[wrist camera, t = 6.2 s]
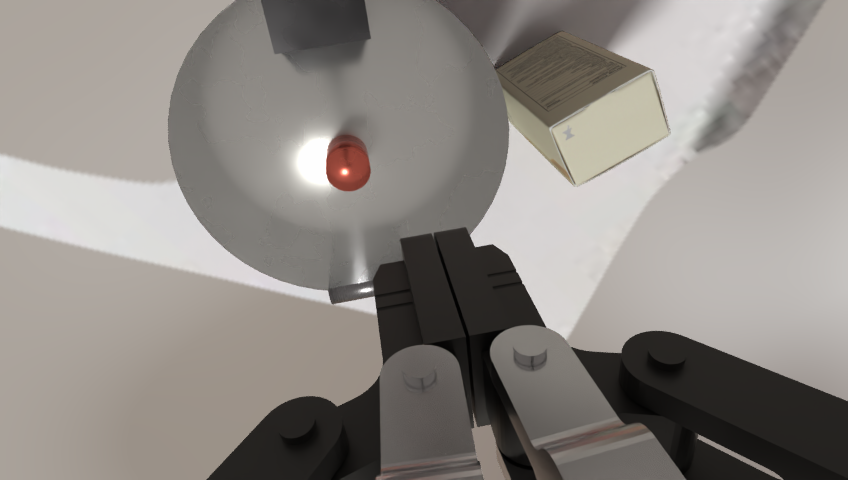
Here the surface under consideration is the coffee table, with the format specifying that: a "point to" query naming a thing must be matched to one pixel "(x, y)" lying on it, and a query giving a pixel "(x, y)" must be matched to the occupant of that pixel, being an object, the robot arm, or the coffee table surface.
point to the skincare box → (583, 105)
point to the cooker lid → (336, 134)
